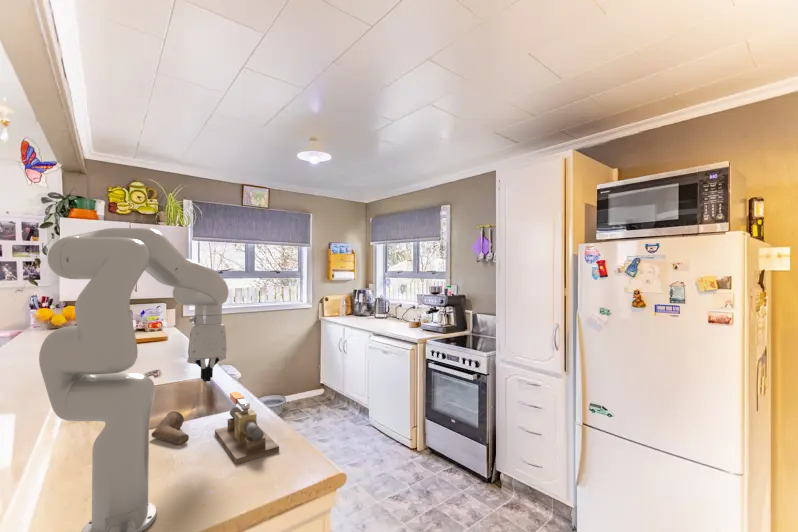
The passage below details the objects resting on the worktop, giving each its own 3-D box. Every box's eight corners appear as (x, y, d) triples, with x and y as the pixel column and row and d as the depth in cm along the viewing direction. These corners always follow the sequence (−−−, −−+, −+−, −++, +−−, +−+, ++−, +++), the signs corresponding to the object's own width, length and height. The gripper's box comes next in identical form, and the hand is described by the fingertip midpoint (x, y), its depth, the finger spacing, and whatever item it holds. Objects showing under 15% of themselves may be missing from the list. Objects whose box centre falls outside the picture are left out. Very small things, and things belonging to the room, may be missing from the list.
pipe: (176, 433, 113) (205, 416, 122) (141, 423, 120) (171, 407, 129) (179, 453, 114) (208, 434, 123) (144, 442, 121) (174, 425, 130)
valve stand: (279, 451, 111) (279, 415, 111) (236, 464, 104) (236, 426, 104) (252, 424, 130) (252, 394, 130) (214, 434, 123) (215, 401, 123)
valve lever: (242, 411, 115) (242, 405, 115) (230, 398, 127) (230, 392, 127) (251, 409, 117) (251, 403, 117) (238, 396, 129) (238, 391, 129)
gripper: (182, 323, 110) (180, 387, 109) (237, 320, 119) (235, 379, 118) (178, 321, 116) (176, 382, 115) (230, 318, 125) (229, 375, 124)
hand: (206, 380), depth 116 cm, fingers closed
